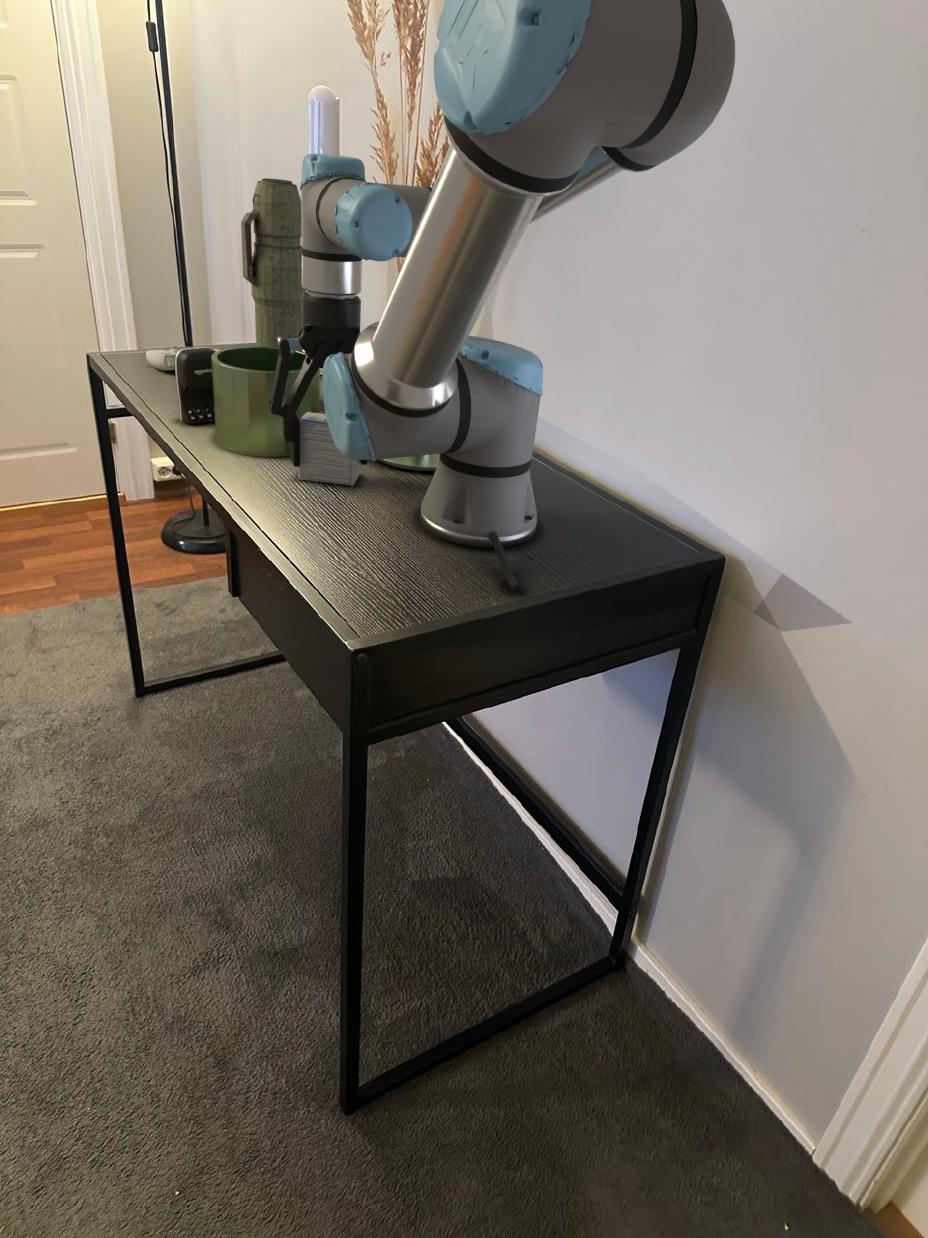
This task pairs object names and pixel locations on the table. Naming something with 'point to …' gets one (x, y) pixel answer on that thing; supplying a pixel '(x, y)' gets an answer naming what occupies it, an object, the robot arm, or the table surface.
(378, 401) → the robot arm
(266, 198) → the thermos
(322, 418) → the medicine box
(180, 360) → the battery charger
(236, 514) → the table surface
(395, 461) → the bin lid
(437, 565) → the table surface
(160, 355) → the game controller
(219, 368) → the green pot
